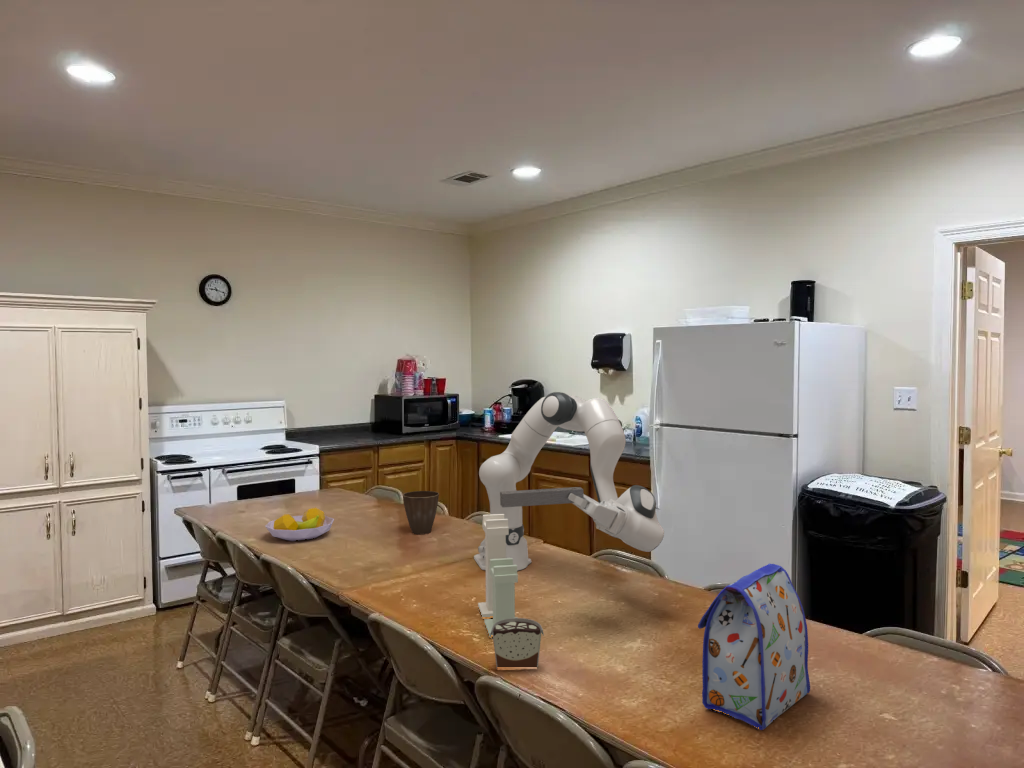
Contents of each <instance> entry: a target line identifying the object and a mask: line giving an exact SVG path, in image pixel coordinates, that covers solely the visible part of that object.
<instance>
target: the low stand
mask: <svg viewBox="0 0 1024 768" xmlns="http://www.w3.org/2000/svg"><path fill="white" fill-rule="evenodd" d="M489 569H490V575H491V577H492V579H493V619H484V621H483V622H484V623H485V625H486V628H487V630H488V633H489V636H490V634H491V629H492V627H493V625H494V624H495V623H496V622H498V621H501V620H504V619H510V618H519V617H518V616H516V608H515V607H516V604H515V603H516V602H515V601H516V598H515V594H516V593H515V592H516V589H515V588H516V587H515V586H516V585H515V583H518V582H519V573H518V570H517V565H513V559H512V558H501V559H490V566H489ZM484 623H483V624H484ZM485 625H484V626H485ZM486 628H485V629H486ZM488 633H487V634H488ZM491 635H493V633H492V634H491ZM489 636H488V637H489Z"/></svg>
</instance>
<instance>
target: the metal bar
mask: <svg viewBox="0 0 1024 768" xmlns="http://www.w3.org/2000/svg"><path fill="white" fill-rule="evenodd" d="M569 493H572V494H574V495H576V496H578V497H580V498H583V499H584V495H585V494H584V488H582V487H581V486H573V487H572V486H571V487H557V488H556V487H555V488H541V489H540V488H539V489H523V490H516V491H504V492H500V505H501V506H502V507H518V506H522V507H530V506H548V505H562V504H573V503H574V502H573V501H571V500H569V499H568V498H567V496H568V495H569ZM583 494H584V495H583Z"/></svg>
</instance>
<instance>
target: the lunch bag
mask: <svg viewBox="0 0 1024 768" xmlns="http://www.w3.org/2000/svg"><path fill="white" fill-rule="evenodd" d="M800 598H801V597H800V596H799V595H798V592H797V590H796V589H795V586H794V585H793V582H792V580H791V578H790V575H789V573H788V571H786V569H785V568H784V567H783V566H781V565H780V564H775V563H768V564H765V565H763V566H761V567H760V568H758V569H755V570H754V571H752V572H751V573H749V574H746V575H743V576H741V577H740V578H739V579H738V580H736V581H735V582H733V583H730V584H728V585H726V586H725V587H724V588H723V589H721V591H720V592H719V593H718V594H717V596H715V598H714V600H713V601H712V602H711V604H710V605H709V607H708V608H707V610H706V611H705V612H704V614H703V615H702V617H701V618H700V620H699V622H698V624H697V628H698V629H700V630H701V629H704V632H703V643H702V674H701V675H702V676H701V677H702V681H701V682H702V690H701V691H702V693H701V694H702V695H701V698H702V701H701V702H702V705H703V707H704V708H705V709H707V710H709V709H715V710H719V711H722V712H724V713H726V714H729V715H730V716H732V717H731V718H733V717H734V719H736V720H741V721H742V722H744V723H747V724H749V725H750V726H752V725H753V726H755V727H757V728H758V727H759V729H760V730H759V731H763V730H765V729H766V728H767V727H768V726H770V724H771V723H773V720H774V721H775V720H776V719H777V718H778V717H780V715H782V714H784V713H785V712H786V711H787V710H788V709H790V708H791V707H792V706H793V705H794V704H796V703H798V702H799V701H800V700H801V699H802V698H803V697H805V696H806V695H808V694H809V693H810V691H811V682H810V675H809V667H808V666H809V665H808V663H809V634H808V633H809V632H808V623H807V619H806V615H805V610H804V607H803V605H802V602H801V599H800ZM807 693H808V694H807ZM730 716H729V717H730ZM753 726H752V727H753ZM755 727H754V728H755ZM757 728H756V729H757Z"/></svg>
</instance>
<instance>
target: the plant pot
mask: <svg viewBox="0 0 1024 768" xmlns="http://www.w3.org/2000/svg"><path fill="white" fill-rule="evenodd" d="M439 494H440V493H439V492H437V491H431V490H414V491H407V492H404V493H403V494H402V500H403V506H404V511H405V515H406V518H407V521H408V524H409V527H410V531H411V533H412V534H413V533H414V534H413V535H427V534H430V533H431V531H432V529H433V526H434V522H435V519H436V515H437V509H438V506H439V505H438V503H439V498H440V497H439V496H440V495H439Z"/></svg>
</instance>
